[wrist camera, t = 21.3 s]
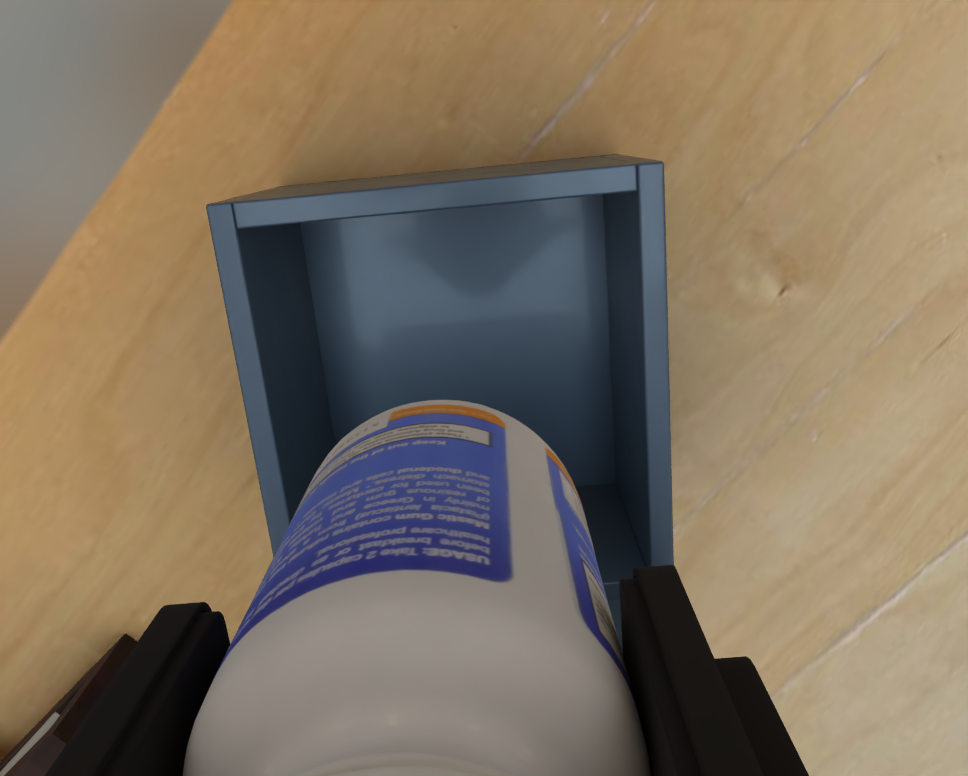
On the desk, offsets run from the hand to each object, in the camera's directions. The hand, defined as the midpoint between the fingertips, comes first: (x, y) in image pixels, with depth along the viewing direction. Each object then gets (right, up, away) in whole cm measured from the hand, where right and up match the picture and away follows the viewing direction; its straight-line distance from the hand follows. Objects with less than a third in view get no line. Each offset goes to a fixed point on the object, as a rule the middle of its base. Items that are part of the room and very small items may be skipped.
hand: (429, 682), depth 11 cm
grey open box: (0, +6, +23) cm, 24 cm away
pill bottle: (0, +2, +5) cm, 5 cm away
